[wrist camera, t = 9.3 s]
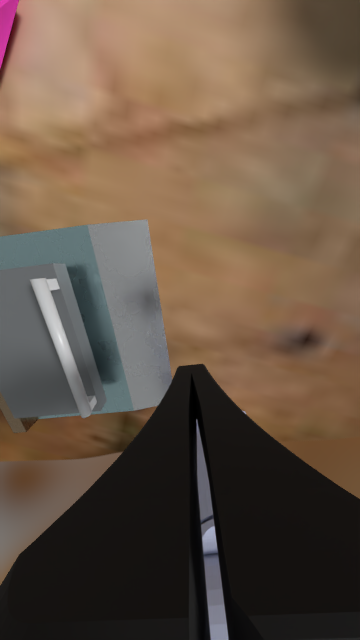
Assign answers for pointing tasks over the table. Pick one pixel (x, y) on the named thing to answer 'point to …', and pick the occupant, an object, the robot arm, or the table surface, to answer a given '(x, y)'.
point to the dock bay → (106, 307)
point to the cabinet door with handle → (45, 345)
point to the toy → (6, 23)
